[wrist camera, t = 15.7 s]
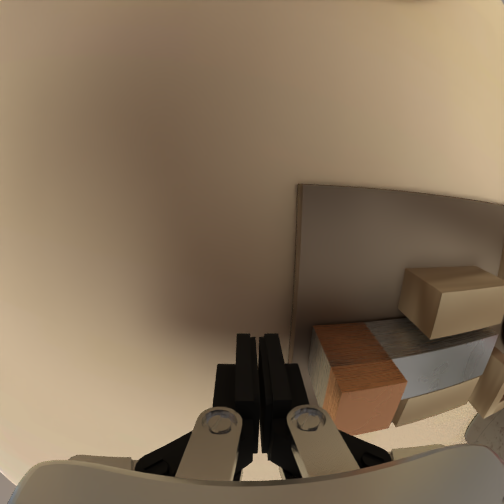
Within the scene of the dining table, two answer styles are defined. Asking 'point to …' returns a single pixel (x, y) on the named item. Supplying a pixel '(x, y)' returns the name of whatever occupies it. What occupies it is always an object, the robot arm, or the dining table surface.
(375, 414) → the copper-tipped grey bar
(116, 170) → the dining table surface
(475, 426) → the thermos bottle
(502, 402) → the dock
